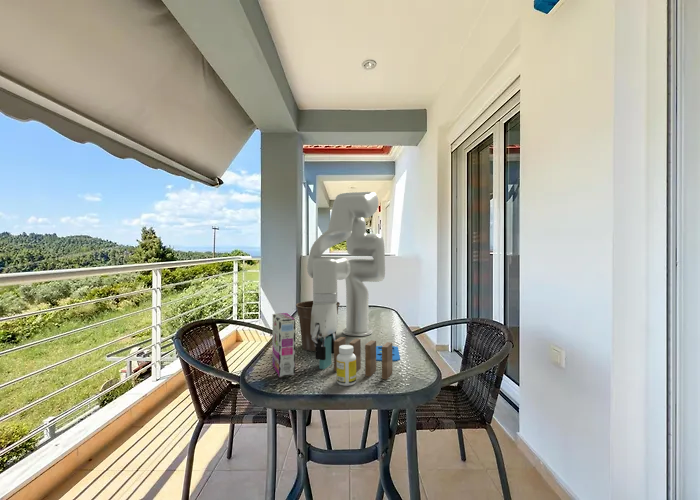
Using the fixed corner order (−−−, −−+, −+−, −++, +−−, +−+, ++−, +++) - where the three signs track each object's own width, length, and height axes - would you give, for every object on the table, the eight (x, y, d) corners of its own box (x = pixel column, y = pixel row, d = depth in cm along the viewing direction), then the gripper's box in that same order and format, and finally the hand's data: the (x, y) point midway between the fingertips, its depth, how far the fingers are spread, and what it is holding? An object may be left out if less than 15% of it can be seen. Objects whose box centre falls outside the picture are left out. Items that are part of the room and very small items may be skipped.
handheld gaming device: (374, 358, 110) (375, 345, 125) (374, 362, 110) (375, 348, 125) (400, 359, 109) (397, 345, 124) (400, 362, 109) (397, 348, 124)
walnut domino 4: (381, 378, 95) (381, 346, 95) (387, 372, 100) (387, 342, 100) (387, 379, 95) (387, 347, 95) (392, 373, 99) (392, 342, 99)
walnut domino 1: (334, 370, 101) (333, 341, 101) (341, 365, 106) (341, 336, 106) (338, 371, 101) (338, 341, 100) (345, 366, 105) (345, 337, 105)
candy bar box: (296, 375, 98) (296, 319, 97) (279, 378, 96) (278, 320, 96) (287, 363, 108) (287, 312, 108) (271, 365, 106) (271, 313, 106)
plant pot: (287, 351, 121) (287, 305, 120) (307, 339, 136) (307, 299, 136) (330, 355, 115) (330, 308, 115) (346, 342, 131) (345, 301, 130)
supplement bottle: (355, 378, 96) (355, 343, 95) (356, 386, 90) (356, 349, 90) (336, 378, 95) (336, 343, 95) (336, 386, 90) (336, 349, 90)
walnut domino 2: (349, 373, 99) (349, 342, 99) (355, 367, 104) (355, 338, 104) (354, 374, 99) (354, 343, 98) (360, 368, 103) (360, 339, 103)
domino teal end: (319, 368, 103) (319, 339, 103) (327, 363, 108) (326, 335, 108) (324, 369, 103) (323, 340, 102) (331, 364, 107) (331, 336, 107)
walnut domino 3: (365, 375, 97) (365, 344, 97) (371, 370, 102) (371, 340, 102) (370, 376, 97) (370, 345, 97) (376, 370, 101) (376, 340, 101)
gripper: (327, 293, 114) (327, 347, 115) (300, 301, 99) (300, 363, 99) (347, 295, 111) (347, 349, 112) (322, 303, 96) (323, 367, 96)
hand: (325, 355), depth 105 cm, fingers open, 5 cm apart
